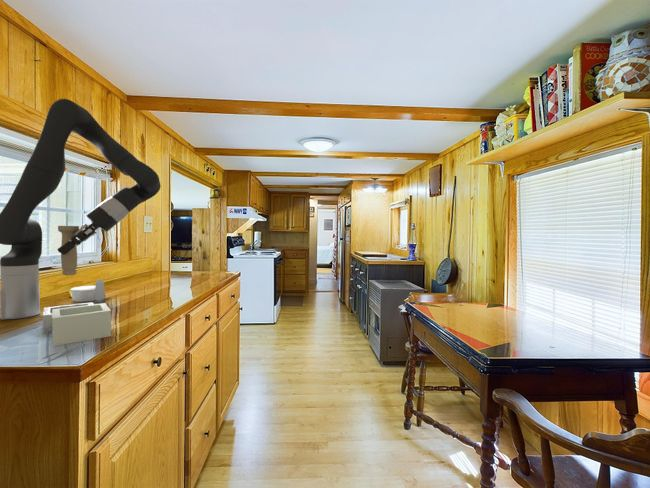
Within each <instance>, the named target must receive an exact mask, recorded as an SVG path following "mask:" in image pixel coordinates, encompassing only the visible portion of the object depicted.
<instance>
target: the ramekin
mask: <svg viewBox="0 0 650 488" xmlns="http://www.w3.org/2000/svg"><path fill="white" fill-rule="evenodd" d="M95 287H96V284H95V285H83V286H75V287H72V288H70V289H71V293H72V297H71V298H72V301H73V302H77V303H89V302H94V294H95ZM71 293H70V294H71Z"/></svg>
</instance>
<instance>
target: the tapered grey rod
mask: <svg viewBox="0 0 650 488" xmlns="http://www.w3.org/2000/svg"><path fill="white" fill-rule="evenodd" d="M95 285H96V287H95V294H94V301H93V304H102V303H106V294H105V283H104V279H96V281H95Z"/></svg>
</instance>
